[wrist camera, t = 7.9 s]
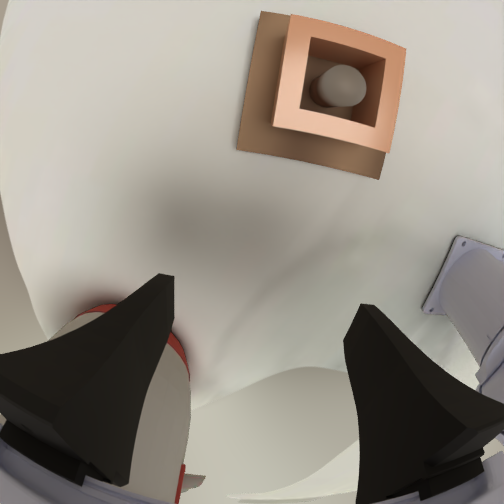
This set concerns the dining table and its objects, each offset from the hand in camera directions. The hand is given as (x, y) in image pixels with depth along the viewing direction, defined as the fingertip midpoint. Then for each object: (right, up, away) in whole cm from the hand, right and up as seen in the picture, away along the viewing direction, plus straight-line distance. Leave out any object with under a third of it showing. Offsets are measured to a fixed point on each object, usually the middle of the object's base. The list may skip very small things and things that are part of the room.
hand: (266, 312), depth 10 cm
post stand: (+4, +12, +5) cm, 14 cm away
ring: (+4, +12, +3) cm, 13 cm away
